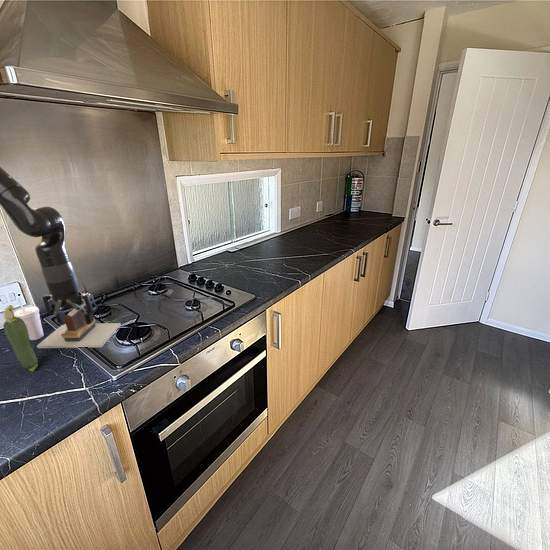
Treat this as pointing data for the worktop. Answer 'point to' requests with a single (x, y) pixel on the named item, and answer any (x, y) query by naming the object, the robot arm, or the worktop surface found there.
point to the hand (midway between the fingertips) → (77, 323)
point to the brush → (76, 326)
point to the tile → (91, 340)
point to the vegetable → (19, 339)
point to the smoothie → (31, 320)
